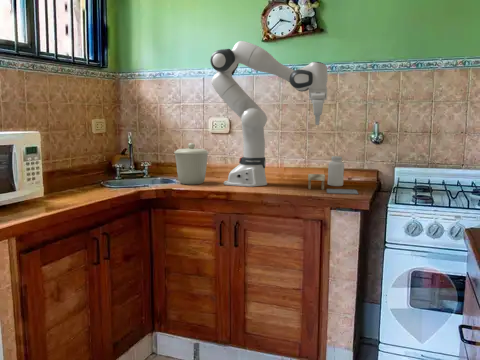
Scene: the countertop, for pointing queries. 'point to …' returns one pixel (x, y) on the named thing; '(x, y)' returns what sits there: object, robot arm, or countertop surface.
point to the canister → (191, 164)
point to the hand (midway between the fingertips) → (317, 124)
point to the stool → (316, 177)
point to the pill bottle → (336, 171)
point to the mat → (342, 191)
